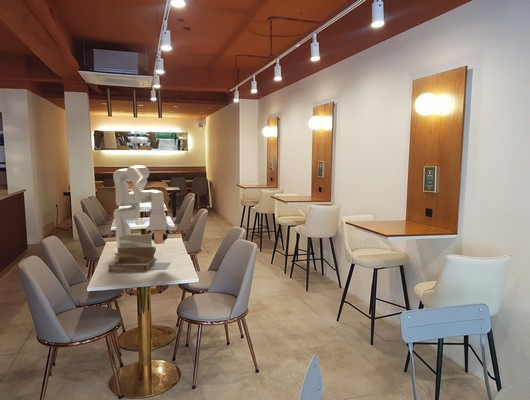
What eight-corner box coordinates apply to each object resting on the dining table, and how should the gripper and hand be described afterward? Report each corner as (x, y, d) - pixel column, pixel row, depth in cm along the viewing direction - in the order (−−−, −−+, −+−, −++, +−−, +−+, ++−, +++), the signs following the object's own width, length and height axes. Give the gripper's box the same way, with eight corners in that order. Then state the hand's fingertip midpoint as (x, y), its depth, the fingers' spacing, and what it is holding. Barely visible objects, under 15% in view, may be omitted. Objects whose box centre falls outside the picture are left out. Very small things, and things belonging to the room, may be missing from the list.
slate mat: (154, 263, 250) (154, 262, 249) (170, 262, 250) (170, 262, 250) (149, 269, 236) (149, 269, 236) (166, 269, 236) (166, 268, 236)
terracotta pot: (155, 241, 244) (154, 229, 243) (166, 241, 244) (165, 228, 243) (152, 244, 237) (151, 231, 236) (163, 244, 238) (163, 231, 237)
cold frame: (119, 262, 251) (117, 235, 249) (154, 261, 252) (152, 234, 250) (108, 271, 232) (106, 241, 230) (146, 270, 233) (144, 241, 231)
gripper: (141, 212, 235) (143, 242, 237) (171, 212, 235) (172, 241, 237) (145, 210, 242) (146, 239, 244) (173, 210, 243) (174, 238, 245)
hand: (159, 240), depth 241 cm, fingers closed on terracotta pot, 6 cm apart
